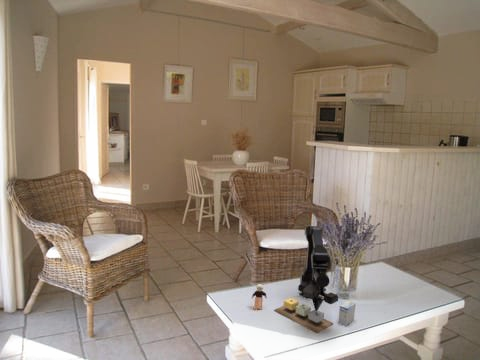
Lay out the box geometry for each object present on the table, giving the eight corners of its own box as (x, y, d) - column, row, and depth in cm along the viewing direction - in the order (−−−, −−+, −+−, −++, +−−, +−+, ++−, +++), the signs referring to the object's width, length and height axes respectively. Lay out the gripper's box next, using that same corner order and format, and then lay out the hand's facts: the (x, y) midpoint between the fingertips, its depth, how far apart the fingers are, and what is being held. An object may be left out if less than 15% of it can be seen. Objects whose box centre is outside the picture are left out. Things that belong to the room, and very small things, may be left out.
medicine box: (345, 317, 193) (346, 300, 192) (354, 320, 191) (355, 303, 189) (338, 323, 187) (339, 305, 186) (347, 326, 185) (348, 308, 183)
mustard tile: (290, 303, 200) (290, 297, 200) (298, 307, 196) (298, 301, 196) (283, 306, 197) (284, 300, 196) (291, 310, 193) (291, 304, 193)
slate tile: (314, 315, 189) (315, 308, 189) (323, 319, 186) (324, 313, 185) (308, 318, 186) (308, 312, 185) (317, 322, 182) (317, 316, 182)
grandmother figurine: (252, 311, 196) (253, 286, 194) (250, 307, 200) (251, 283, 198) (267, 309, 198) (268, 285, 196) (264, 305, 202) (266, 282, 200)
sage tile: (302, 309, 195) (302, 303, 194) (310, 313, 191) (310, 307, 190) (295, 312, 191) (295, 306, 191) (303, 316, 188) (304, 310, 187)
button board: (290, 303, 205) (290, 302, 205) (333, 324, 186) (333, 322, 186) (274, 310, 197) (274, 309, 197) (317, 333, 178) (317, 331, 178)
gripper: (291, 275, 184) (289, 307, 186) (325, 289, 170) (322, 323, 173) (306, 270, 191) (304, 300, 194) (340, 283, 178) (337, 315, 180)
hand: (316, 310), depth 185 cm, fingers closed
